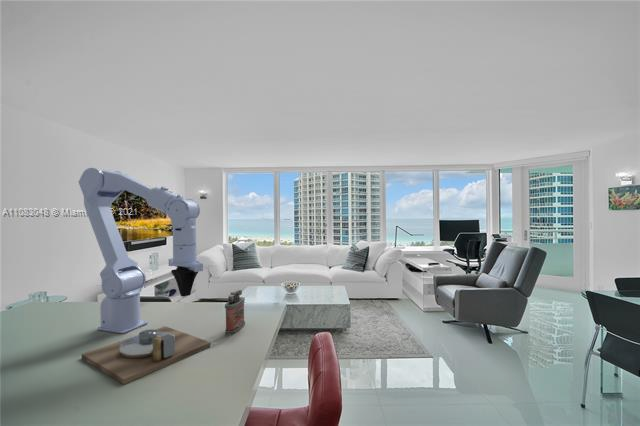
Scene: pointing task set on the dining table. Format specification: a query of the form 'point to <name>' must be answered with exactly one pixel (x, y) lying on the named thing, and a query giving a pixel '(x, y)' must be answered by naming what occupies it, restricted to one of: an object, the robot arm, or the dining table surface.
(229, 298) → the lighter
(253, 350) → the dining table surface
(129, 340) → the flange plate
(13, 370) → the dining table surface
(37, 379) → the dining table surface
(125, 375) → the walnut board
